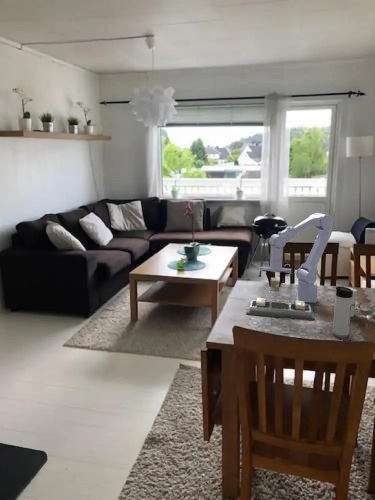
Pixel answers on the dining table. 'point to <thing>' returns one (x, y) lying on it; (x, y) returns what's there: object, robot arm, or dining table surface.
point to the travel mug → (342, 312)
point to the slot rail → (280, 309)
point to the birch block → (274, 284)
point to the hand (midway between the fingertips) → (274, 286)
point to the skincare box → (353, 301)
